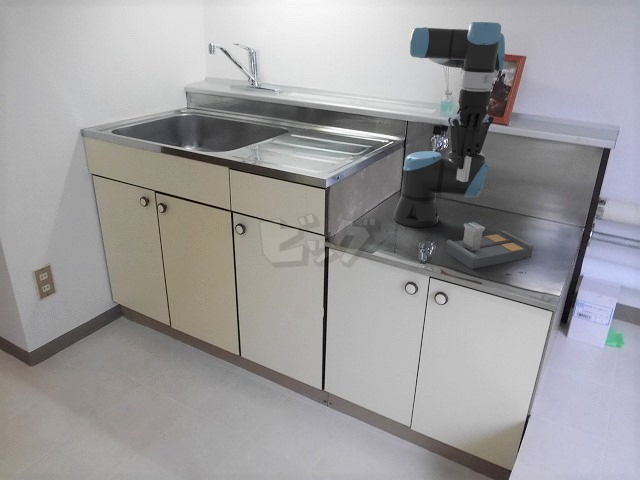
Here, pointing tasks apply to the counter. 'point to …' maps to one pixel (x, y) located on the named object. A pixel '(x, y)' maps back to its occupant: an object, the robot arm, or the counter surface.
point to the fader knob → (472, 236)
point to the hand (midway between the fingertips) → (461, 180)
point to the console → (490, 250)
